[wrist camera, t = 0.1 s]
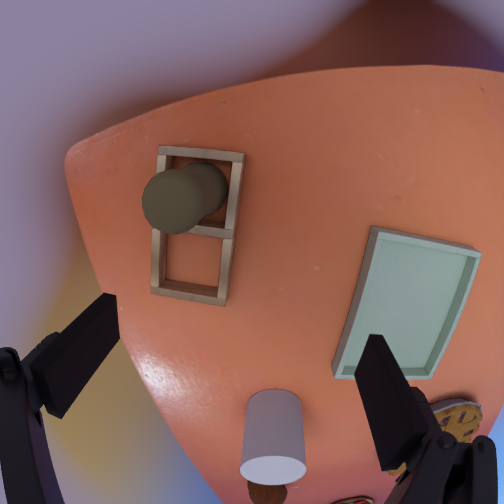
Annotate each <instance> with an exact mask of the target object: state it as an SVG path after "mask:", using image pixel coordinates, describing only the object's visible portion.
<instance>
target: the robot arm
mask: <svg viewBox="0 0 504 504" xmlns="http://www.w3.org/2000/svg"><path fill="white" fill-rule="evenodd" d="M119 339H120V334H119V324H118V313H117V300H116V295H112V294H108V293H103V294H102V295H101V296H100V297H99V298H97V299H96V300H95V301H94V302H93V303H92V304H91V305H90V306H89V307H88V308H87V309H85V310H84V311H83V312H82V313H81V314H80V315H79V316H78V317H77V318H76V319H75V320H74V321H73V322H72V323H71V324H70V325H69V326H67V327H66V328H65V329H64V330H63V331H62V332H61V333H58V332H54V333H52V334H50V335H48V336H46V337H45V338H44V339H43V340H42V341H41V343H39V344H38V345H37V346H36V348H34V349H33V350H32V351H31V352H30V353H29V354H28V355H27V356H26V357H25V358H24V359H23V360H22V361H20V358H19V356H18V353H17V351H16V350H15V349H13V348H10V347H3V348H0V464H1V471H2V477H3V483H4V489H5V494H6V498H7V503H8V504H65V503H64V501H63V497H62V494H61V491H60V489H59V485H58V482H57V478H56V475H55V472H54V468H53V464H52V460H51V456H50V452H49V448H48V444H47V440H46V434H45V429H44V424H43V419H42V413H41V411H40V408H41V407H42V406H43V404H44V405H45V408H46V410H47V412H48V413H49V414H51V415H53V416H55V417H57V418H60V419H62V418H63V416H64V415H65V413H66V412H67V411H68V409H69V408H70V406H71V405H72V403H73V402H74V401H75V399H76V398H77V396H78V395H79V393H80V392H81V391H82V389H83V388H84V386H85V385H86V384H87V382H88V381H89V379H90V378H91V377H92V375H93V374H94V373H95V371H96V370H97V369H98V367H99V366H100V364H101V363H102V362H103V360H104V359H105V358H106V356H107V355H108V354H109V352H110V351H111V350H112V348H113V347H114V346H115V344H116V343H117V342H118V340H119ZM354 377H355V380H356V383H357V386H358V389H359V393H360V396H361V399H362V402H363V406H364V409H365V412H366V416H367V419H368V422H369V426H370V429H371V433H372V436H373V440H374V444H375V447H376V451H377V455H378V458H379V462H380V466H381V470H382V471H389V470H397V469H398V468H399V467H400V466H401V465H402V464H403V463H404V462H405V465H406V470H405V471H404V472H403V473H402V474H401V475H400V476H399V477H398V478H397V479H396V480H395V482H397V481H398V482H397V484H396V485H395V487H394V489H393V490H392V492H391V493H390V495H389V497H388V498H387V500H386V501H385V503H384V504H498V479H497V478H498V476H497V457H496V448H495V444H494V442H493V441H492V440H491V439H490V438H488V437H487V436H484V435H480V436H477V437H476V438H475V439H474V440H473V441H472V443H464V442H458V441H457V439H456V438H455V436H454V435H452V434H451V433H449V432H446V431H442V429H441V427H440V425H439V423H438V421H437V419H436V417H435V415H434V413H433V411H432V409H431V407H430V405H429V403H428V401H427V399H426V397H425V395H424V393H423V392H422V391H421V390H419V389H418V388H417V387H410V386H409V384H408V382H407V380H406V378H405V376H404V374H403V372H402V370H401V368H400V366H399V364H398V363H397V361H396V359H395V357H394V355H393V353H392V351H391V349H390V347H389V346H388V344H387V342H386V340H385V338H384V336H383V335H381V334H369V337H368V339H367V342H366V345H365V347H364V350H363V353H362V355H361V358H360V360H359V363H358V365H357V368H356V370H355V373H354Z"/></svg>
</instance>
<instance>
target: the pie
mask: <svg viewBox="0 0 504 504" xmlns="http://www.w3.org/2000/svg"><path fill="white" fill-rule="evenodd" d="M430 407H431V409H432V411H433V413H434V415H435V417H436V419H437V421H438V423H439V425H440V427H441V429H442V431H446V432H449V433H451V434H452V435H454V436H455V438H456V439H457V441H458V442H464V443H469V442H470V440H471V436H472V435H473V434H474V433H475V432H476V431H477V430H478V428H479V421H481V420H482V416H483V415H482V411H481V405H479V404H477V403H474V402H472V401H467V400H464V399H461V398H455V399H447V400H442V401H440V402H437V403H434V404H432V405H430ZM405 470H406V465H405V462H404V463H403V464H402V465H401V466H400V467H399V468H398V469H397V470H389V471H386V472H388V473H389V474H390V475H396V474H402V473H403V472H404V471H405Z"/></svg>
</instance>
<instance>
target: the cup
mask: <svg viewBox="0 0 504 504" xmlns="http://www.w3.org/2000/svg"><path fill="white" fill-rule="evenodd" d="M240 473H241V475H242V476H243V477H244V478H246V479H247V480H249V481H252V482H254V483H258V484H264V485H282V484H287V483H291V482H294V481H296V480H298V479H300V478H301V477H302V476H303V475H304V474H305V473H306V458H305V444H304V431H303V419H302V407H301V401H300V400H299V398H298V397H297V396H296V395H295V394H293V393H291V392H289V391H286V390H281V389H269V390H264V391H261V392H258V393H256V394H255V395H253V396H252V397H251V398H250V400H249V401H248V404H247V412H246V421H245V430H244V439H243V448H242V457H241V465H240Z"/></svg>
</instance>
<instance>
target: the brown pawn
mask: <svg viewBox="0 0 504 504" xmlns="http://www.w3.org/2000/svg"><path fill="white" fill-rule="evenodd" d="M227 195H228V184H227V181H226V177H225V176H224V174H223V173H222V171H221V170H220V169H219V168H218V167H216V166H215V165H213V164H211V163H208V162H194V163H191V164H188V165H187V166H185V167H184V168H182V169H168V170H165V171H162V172H159V173H158V174H157V175H155V176H154V177H153V178H152V179H151V180H150V181H149V183H148V184H147V185H146V187H145V189H144V192H143V196H142V208H143V211H144V215H145V217H146V218H147V220H148V221H149V223H150V224H151V225H152V226H153V227H154V228H156V229H157V230H158V231H161V232H163V233H166V234H180V233H184V232H187V231H189V230H190V229H192V228H193V227H195V226H196V225H197V224H198V222H199V221H200V220H201V218H202V217H203V216H207V215H211V214H213V213H214V212H216V211H218V210H219V209H220V208H221V207H222V205H223V204H224V203H225V200H226V197H227Z"/></svg>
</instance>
